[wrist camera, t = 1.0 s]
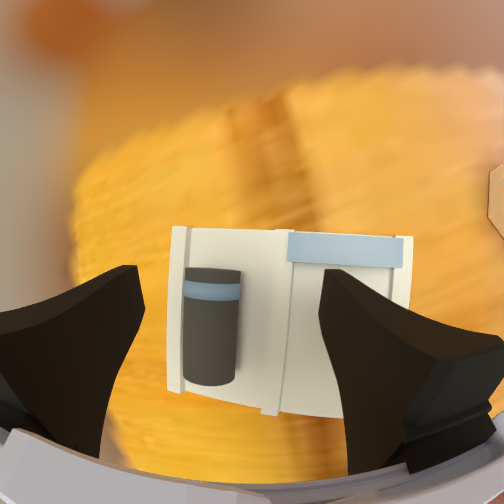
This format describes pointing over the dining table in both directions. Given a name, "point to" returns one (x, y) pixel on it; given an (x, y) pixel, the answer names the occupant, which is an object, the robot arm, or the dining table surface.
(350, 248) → the cream cylinder cradle
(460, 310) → the dining table surface
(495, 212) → the jar
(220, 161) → the dining table surface
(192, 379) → the banded tin can
